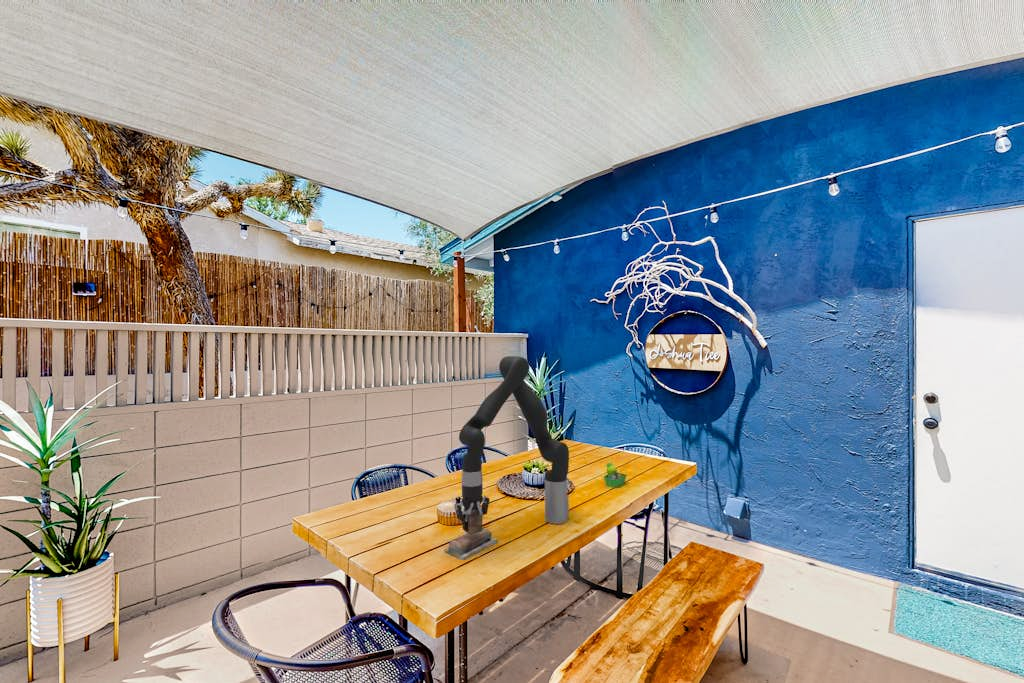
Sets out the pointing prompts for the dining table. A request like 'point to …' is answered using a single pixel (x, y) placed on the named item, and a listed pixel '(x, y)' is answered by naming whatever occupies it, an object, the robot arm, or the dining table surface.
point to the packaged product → (471, 544)
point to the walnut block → (474, 523)
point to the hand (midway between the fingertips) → (472, 528)
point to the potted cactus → (614, 476)
